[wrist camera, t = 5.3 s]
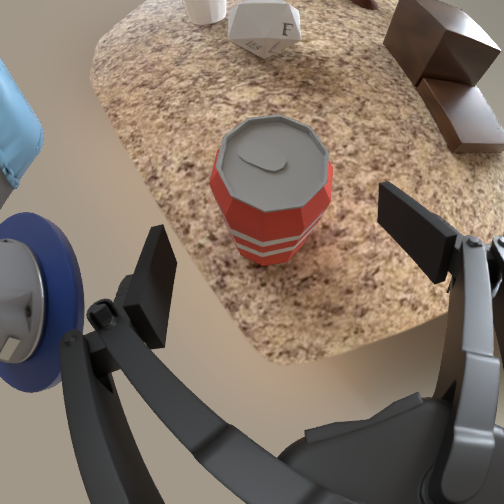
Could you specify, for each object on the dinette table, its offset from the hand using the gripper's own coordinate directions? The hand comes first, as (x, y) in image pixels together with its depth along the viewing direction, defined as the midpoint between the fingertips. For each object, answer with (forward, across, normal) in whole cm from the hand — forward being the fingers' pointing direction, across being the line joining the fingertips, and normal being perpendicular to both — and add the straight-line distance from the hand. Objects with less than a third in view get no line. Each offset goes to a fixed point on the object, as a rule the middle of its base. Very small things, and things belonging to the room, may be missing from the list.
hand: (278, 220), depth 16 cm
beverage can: (+7, 0, -4) cm, 8 cm away
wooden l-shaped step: (+17, +29, +6) cm, 35 cm away
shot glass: (+32, -1, +21) cm, 38 cm away
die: (+24, +5, +13) cm, 28 cm away
